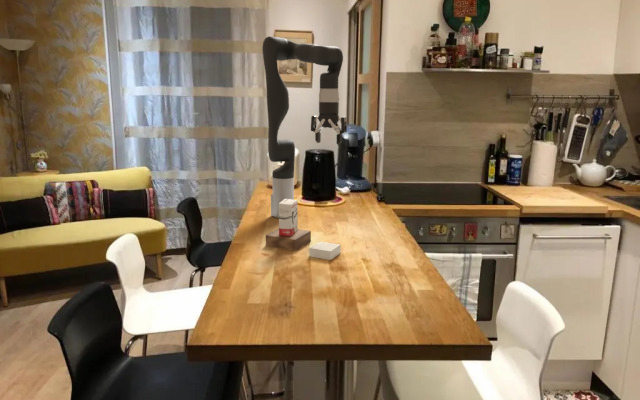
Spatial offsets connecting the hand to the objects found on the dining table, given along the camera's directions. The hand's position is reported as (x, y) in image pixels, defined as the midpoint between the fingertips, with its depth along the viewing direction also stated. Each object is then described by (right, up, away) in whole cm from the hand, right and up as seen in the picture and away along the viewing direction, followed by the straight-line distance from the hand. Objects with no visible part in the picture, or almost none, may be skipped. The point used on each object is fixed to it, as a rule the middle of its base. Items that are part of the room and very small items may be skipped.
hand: (328, 143), depth 200 cm
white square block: (-2, -41, -24) cm, 47 cm away
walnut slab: (-15, -38, -12) cm, 42 cm away
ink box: (-15, -34, -13) cm, 39 cm away
